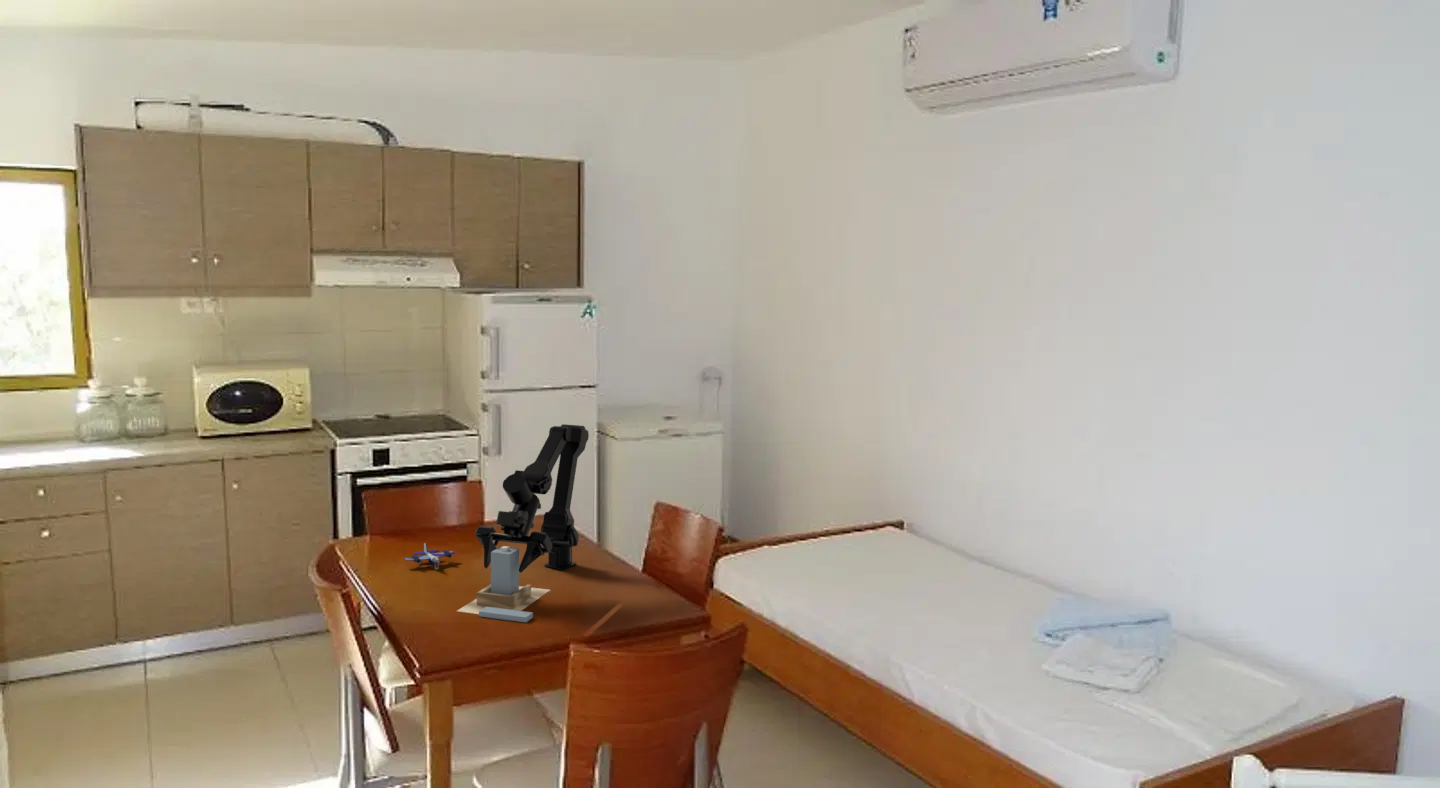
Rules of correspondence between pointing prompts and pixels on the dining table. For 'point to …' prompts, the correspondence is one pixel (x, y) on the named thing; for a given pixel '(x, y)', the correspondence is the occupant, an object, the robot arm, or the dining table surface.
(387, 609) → the dining table surface
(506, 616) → the light blue bar
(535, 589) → the jig
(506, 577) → the blue-grey rectangular block
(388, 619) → the dining table surface
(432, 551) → the toy airplane
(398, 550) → the dining table surface
